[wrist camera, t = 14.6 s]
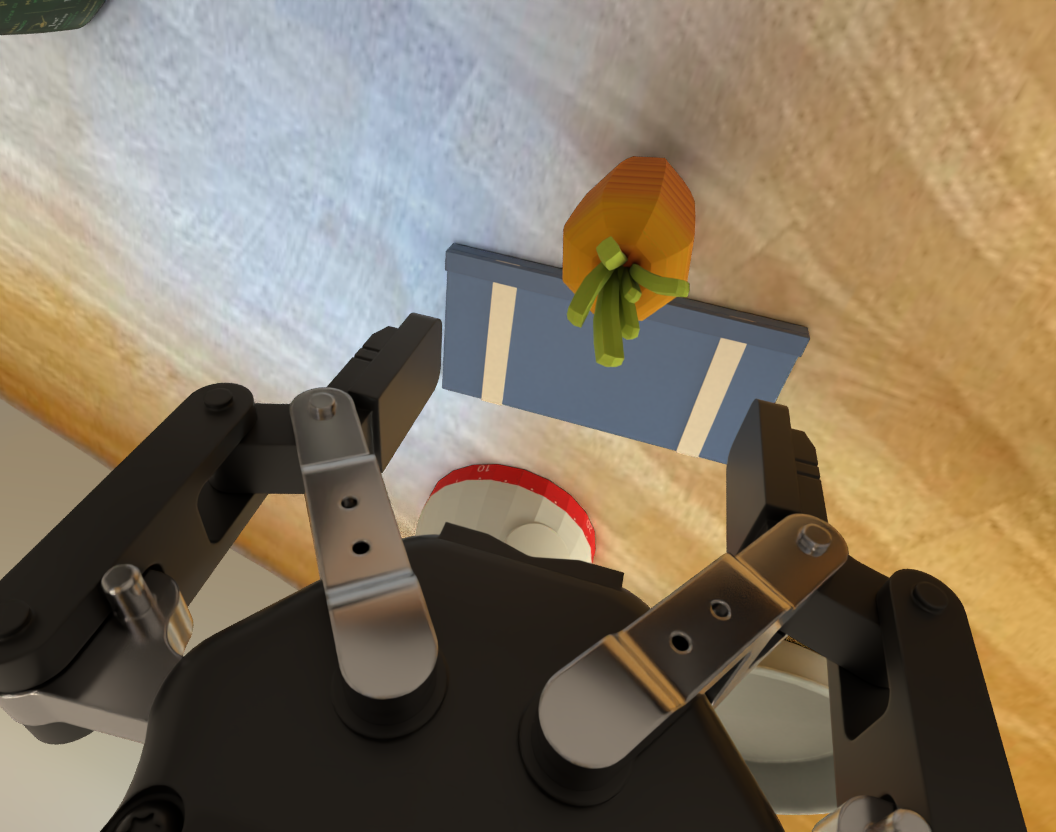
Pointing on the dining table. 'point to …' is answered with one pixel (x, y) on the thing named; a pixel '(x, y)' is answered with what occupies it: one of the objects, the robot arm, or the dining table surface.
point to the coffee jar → (45, 15)
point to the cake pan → (786, 729)
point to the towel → (609, 392)
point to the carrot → (628, 251)
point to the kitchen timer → (511, 511)
